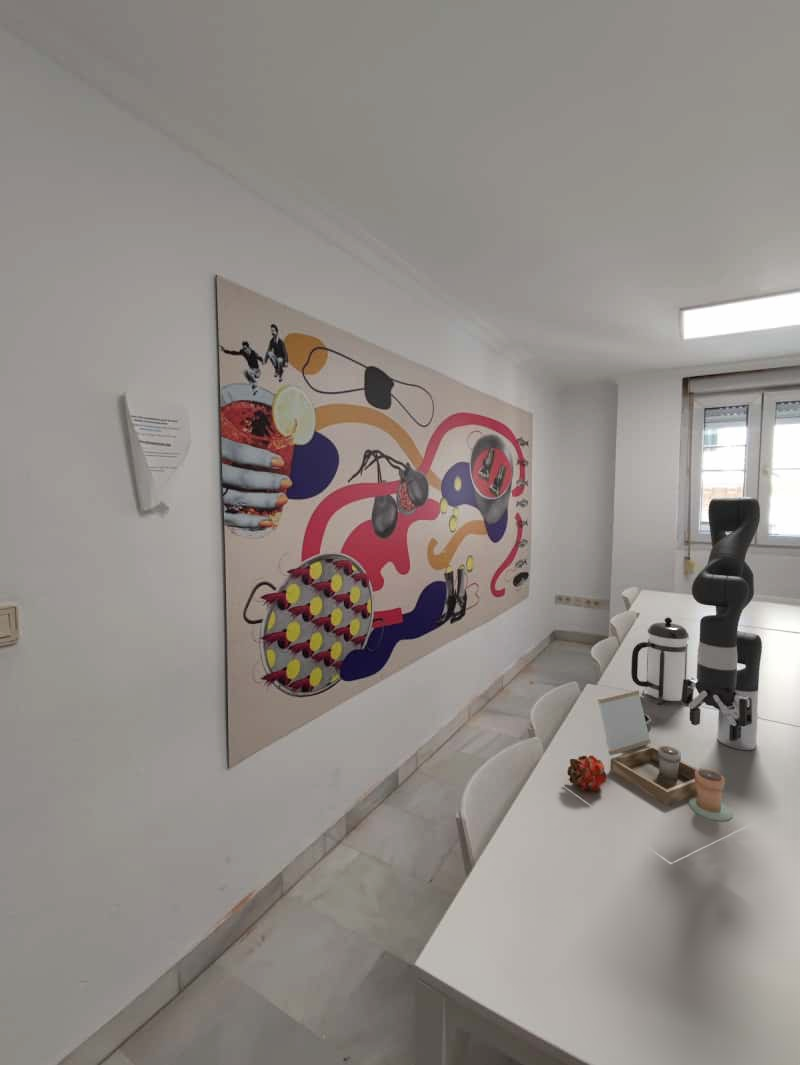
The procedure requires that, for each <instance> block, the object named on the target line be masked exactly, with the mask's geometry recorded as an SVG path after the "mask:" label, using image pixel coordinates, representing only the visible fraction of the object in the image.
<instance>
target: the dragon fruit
mask: <svg viewBox="0 0 800 1065" xmlns="http://www.w3.org/2000/svg"><path fill="white" fill-rule="evenodd" d="M569 763H570V766H568V767H567V775H568V777H569V779H568V780H569V782H570V783H571V784H574V785H577V786H576V788H577V789H578V790H580V791H583V790H584V791H588V790H590V791H592V792H596V793H599V791H600V786H601V785H603V784H604V783H605V782H606V781H607V773H606V771H605V765H604V763H603V762H602V761H601V759H597V757H596V756H595V755H589V756H587V755H581V756H578V758H570V759H569Z"/></svg>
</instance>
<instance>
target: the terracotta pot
mask: <svg viewBox="0 0 800 1065" xmlns="http://www.w3.org/2000/svg"><path fill="white" fill-rule="evenodd" d="M695 781H696V782H697V794H696V795H695V796H696V804H697V805H698V806H699V807H700V808H702V809H704V810H706V811H709V812H715V813H716V812H720V811H721V802H722V796H723V795H722V794H723V793H722V791H723V790H724V789H725V786H726V778H725V777H724V776H723V775H722V774H721V773H719V772H718V771H716V770H713V769H710V768H704V767H703V768H696V770H695Z"/></svg>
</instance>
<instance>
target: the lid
mask: <svg viewBox="0 0 800 1065" xmlns="http://www.w3.org/2000/svg"><path fill="white" fill-rule="evenodd" d="M640 696H641V695H640V690H632V691H629V692H628V691H627V692H624V693H620V694H616V695H615V694H614V695H611V696H607V697H603V698H599V699H597V702H598V703H597V704H598V707H599V710H600V715H601V720H602V724H603V729H604V730H603V731H604V733H605V734H604V735H605V738H606V743H607V748H608V755H609V756H614V755H616V754H617V755H618V754H621V753H624V752H626V751H630V750H633V749H635V748H639V747H643V746H645V745H648V744H651V739H650V734H649V732H648V730H647V726H646V721H645V717H644V714H645V713H644V707H643V708H642V704H641V700H640Z"/></svg>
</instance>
